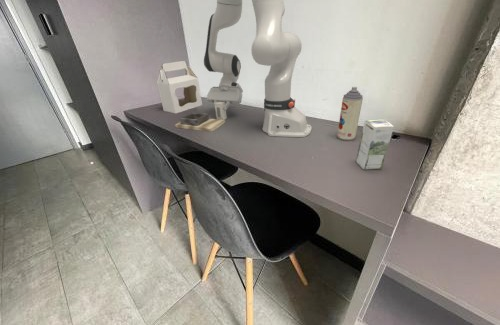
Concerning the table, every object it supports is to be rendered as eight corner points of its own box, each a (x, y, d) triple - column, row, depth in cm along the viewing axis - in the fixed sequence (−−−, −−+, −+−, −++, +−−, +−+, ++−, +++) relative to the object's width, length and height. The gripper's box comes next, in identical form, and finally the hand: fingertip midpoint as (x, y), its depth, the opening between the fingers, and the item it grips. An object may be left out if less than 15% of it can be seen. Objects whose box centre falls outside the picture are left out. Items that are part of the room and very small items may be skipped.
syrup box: (372, 160, 73) (382, 118, 66) (382, 169, 68) (394, 125, 61) (355, 161, 73) (363, 119, 66) (363, 170, 68) (374, 126, 61)
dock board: (225, 122, 115) (224, 114, 113) (211, 131, 105) (210, 122, 103) (191, 119, 123) (189, 111, 121) (175, 127, 113) (173, 118, 111)
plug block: (226, 118, 122) (224, 101, 117) (222, 120, 118) (220, 104, 114) (220, 117, 123) (218, 101, 119) (216, 120, 120) (214, 103, 115)
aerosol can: (335, 134, 93) (342, 85, 84) (351, 134, 93) (361, 85, 83) (339, 141, 87) (347, 89, 78) (357, 140, 87) (367, 88, 77)
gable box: (190, 102, 157) (182, 60, 144) (202, 105, 150) (195, 60, 136) (163, 111, 143) (151, 64, 129) (175, 113, 135) (163, 64, 121)
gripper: (208, 83, 122) (201, 105, 119) (241, 83, 114) (234, 107, 111) (213, 89, 127) (207, 111, 125) (245, 90, 120) (239, 113, 117)
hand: (220, 109), depth 118 cm, fingers closed on plug block, 4 cm apart
